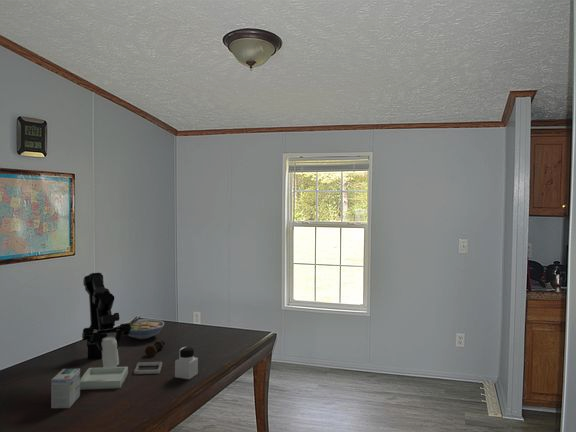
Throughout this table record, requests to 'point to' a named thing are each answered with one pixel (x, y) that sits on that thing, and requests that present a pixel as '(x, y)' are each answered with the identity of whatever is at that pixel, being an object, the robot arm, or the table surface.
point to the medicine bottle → (186, 364)
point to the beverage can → (109, 352)
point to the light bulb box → (65, 388)
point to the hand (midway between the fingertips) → (109, 349)
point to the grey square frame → (148, 370)
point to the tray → (103, 378)
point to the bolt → (154, 348)
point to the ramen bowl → (144, 328)
